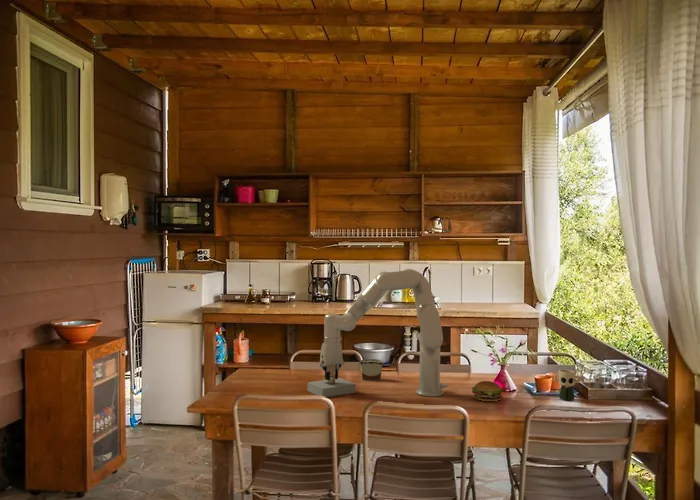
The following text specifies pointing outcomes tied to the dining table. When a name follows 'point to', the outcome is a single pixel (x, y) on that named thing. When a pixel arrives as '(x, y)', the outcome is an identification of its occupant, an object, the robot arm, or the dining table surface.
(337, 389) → the socket board
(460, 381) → the dining table surface
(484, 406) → the dining table surface
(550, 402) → the dining table surface
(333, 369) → the birch peg
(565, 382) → the character mug
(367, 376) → the food container
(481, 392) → the food
